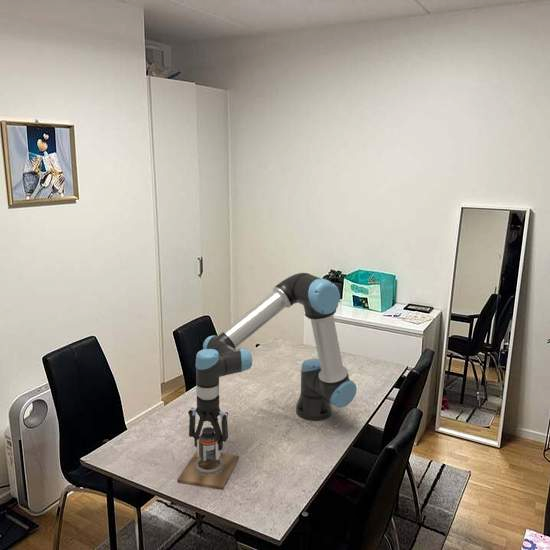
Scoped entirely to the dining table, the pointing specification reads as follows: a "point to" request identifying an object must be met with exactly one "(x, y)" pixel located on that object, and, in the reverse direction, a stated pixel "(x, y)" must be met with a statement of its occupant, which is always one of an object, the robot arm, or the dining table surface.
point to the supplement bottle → (208, 445)
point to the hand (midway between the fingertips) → (208, 456)
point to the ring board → (209, 466)
